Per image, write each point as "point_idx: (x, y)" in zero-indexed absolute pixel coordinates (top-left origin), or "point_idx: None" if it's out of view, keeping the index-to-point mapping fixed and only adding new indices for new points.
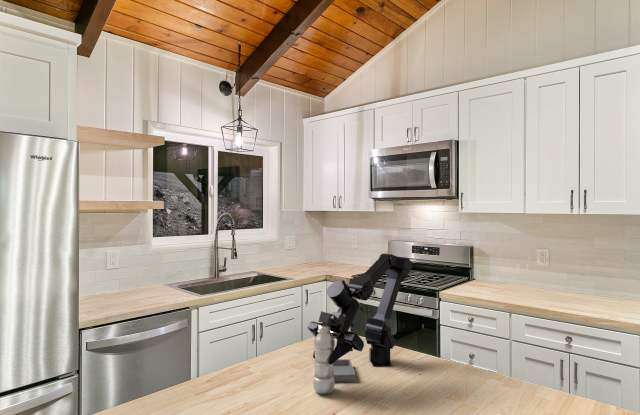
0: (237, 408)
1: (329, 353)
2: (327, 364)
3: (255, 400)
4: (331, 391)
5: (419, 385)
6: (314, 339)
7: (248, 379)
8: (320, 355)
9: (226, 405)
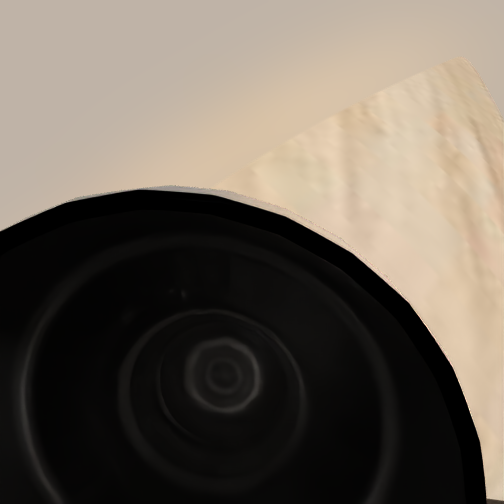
0: (366, 103)
1: (70, 358)
2: (139, 353)
3: (376, 153)
4: (174, 374)
5: None
6: (397, 289)
7: (493, 246)
8: (167, 287)
9: (396, 104)
